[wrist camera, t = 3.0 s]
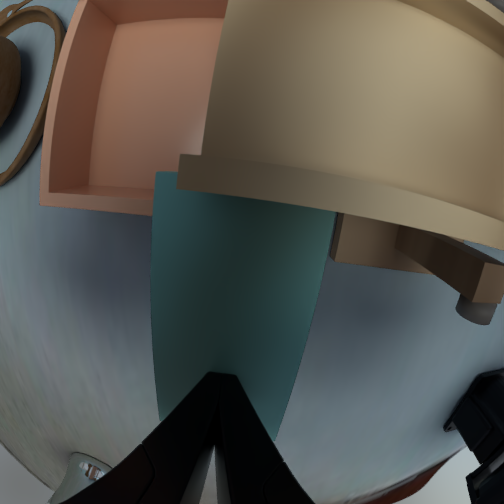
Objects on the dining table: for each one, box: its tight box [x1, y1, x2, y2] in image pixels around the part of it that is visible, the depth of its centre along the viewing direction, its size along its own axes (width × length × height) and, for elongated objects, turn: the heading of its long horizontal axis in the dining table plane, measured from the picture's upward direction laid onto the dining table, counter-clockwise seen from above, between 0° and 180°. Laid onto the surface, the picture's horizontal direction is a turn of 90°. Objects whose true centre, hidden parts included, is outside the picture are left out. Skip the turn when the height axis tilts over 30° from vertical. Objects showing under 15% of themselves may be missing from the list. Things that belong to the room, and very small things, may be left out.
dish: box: [40, 0, 228, 216], centre depth 9 cm, size 9×9×4 cm
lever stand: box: [330, 0, 504, 325], centre depth 8 cm, size 7×12×7 cm, turn 172°
